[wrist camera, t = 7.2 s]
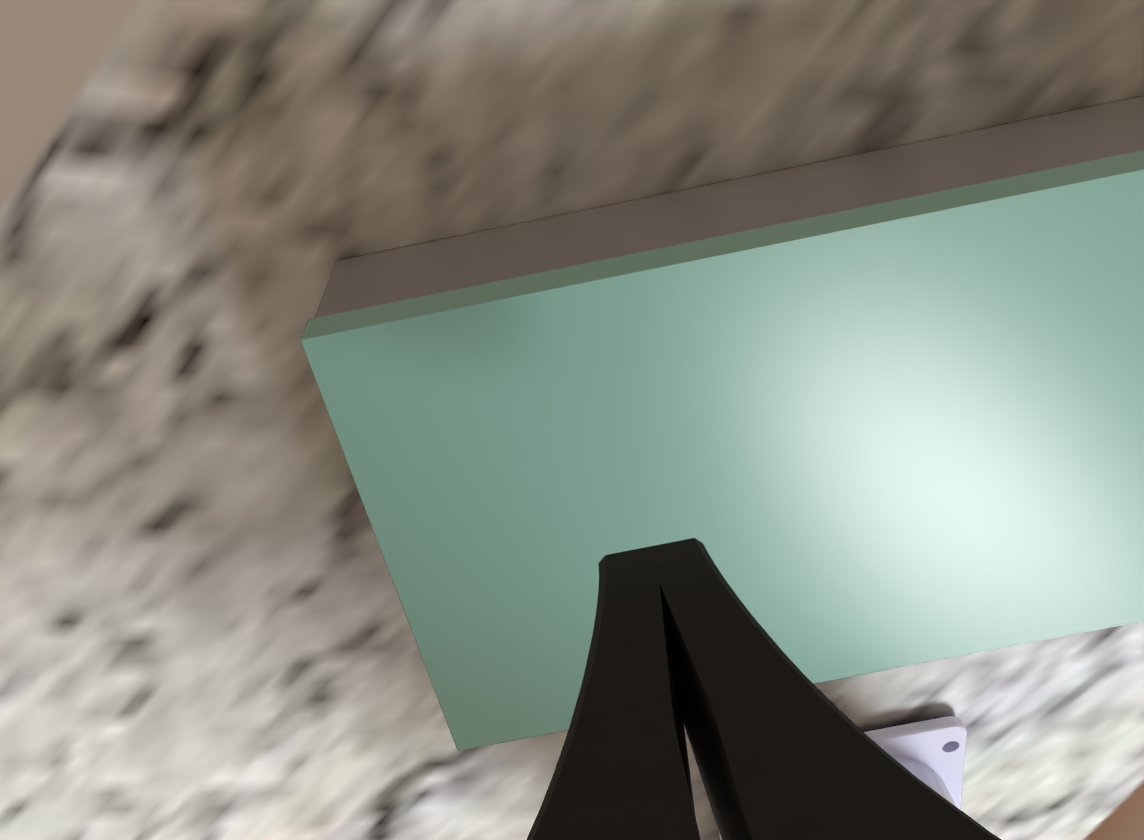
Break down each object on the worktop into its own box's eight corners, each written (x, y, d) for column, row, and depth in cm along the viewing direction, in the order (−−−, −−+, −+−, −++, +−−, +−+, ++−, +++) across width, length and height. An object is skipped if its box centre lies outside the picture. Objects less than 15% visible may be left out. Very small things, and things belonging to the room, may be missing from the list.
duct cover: (1399, 543, 20) (1431, 566, 19) (459, 722, 21) (458, 750, 20) (1592, 59, 15) (1647, 67, 14) (308, 319, 15) (299, 340, 14)
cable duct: (1273, 465, 24) (1398, 560, 20) (460, 623, 24) (456, 738, 21) (1397, 44, 18) (1595, 81, 15) (336, 260, 19) (304, 342, 15)
